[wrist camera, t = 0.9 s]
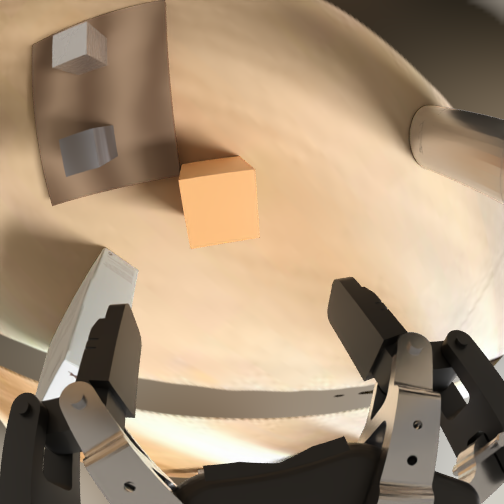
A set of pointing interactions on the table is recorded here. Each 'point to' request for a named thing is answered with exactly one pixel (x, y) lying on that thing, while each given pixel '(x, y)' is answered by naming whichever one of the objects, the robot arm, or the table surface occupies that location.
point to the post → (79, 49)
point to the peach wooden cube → (219, 201)
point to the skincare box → (85, 320)
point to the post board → (108, 109)
